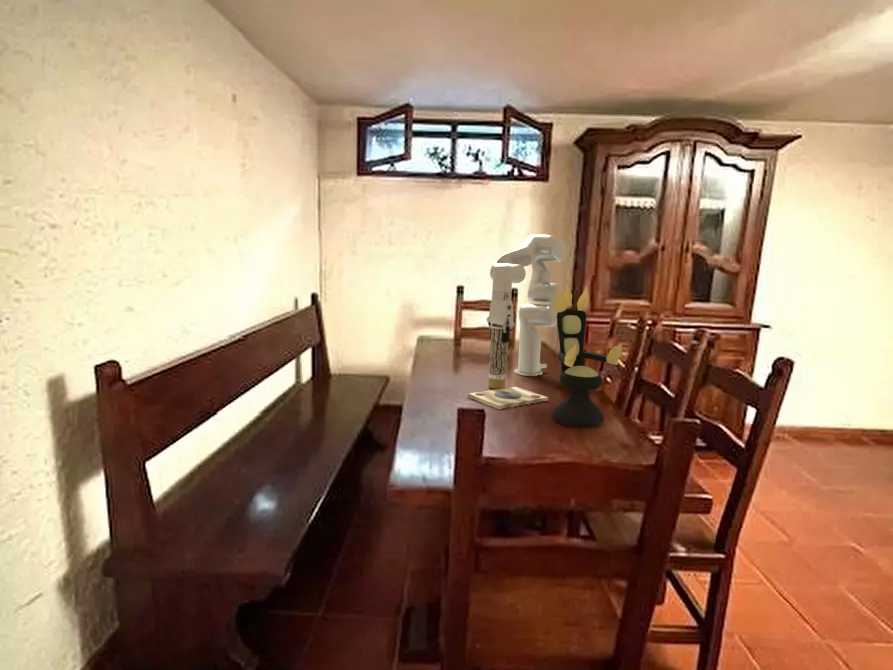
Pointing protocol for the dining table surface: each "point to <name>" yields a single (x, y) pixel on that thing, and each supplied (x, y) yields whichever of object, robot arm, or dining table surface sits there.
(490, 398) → the board
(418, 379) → the dining table surface
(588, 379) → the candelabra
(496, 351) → the paper tube
